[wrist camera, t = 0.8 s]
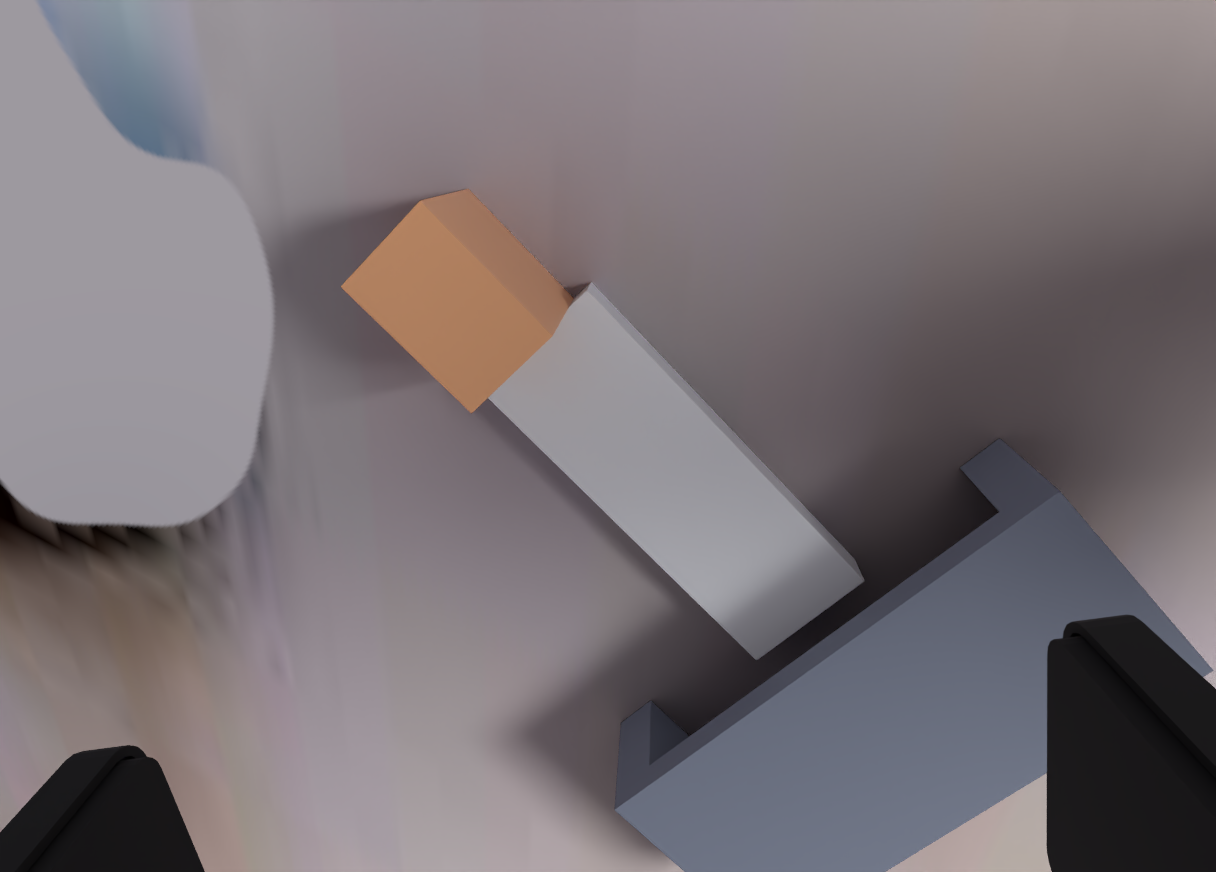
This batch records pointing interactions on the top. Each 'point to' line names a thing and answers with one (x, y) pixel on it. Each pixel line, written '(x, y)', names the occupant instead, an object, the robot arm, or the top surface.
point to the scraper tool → (604, 416)
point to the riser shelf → (891, 704)
